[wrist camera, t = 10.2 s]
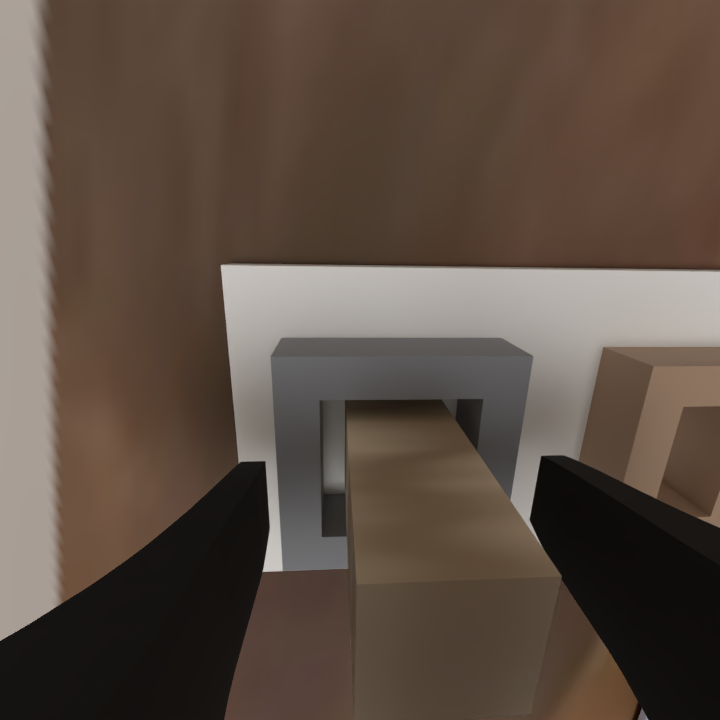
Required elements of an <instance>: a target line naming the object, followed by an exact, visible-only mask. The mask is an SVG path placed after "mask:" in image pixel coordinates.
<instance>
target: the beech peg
mask: <svg viewBox="0 0 720 720" xmlns="http://www.w3.org/2000/svg"><path fill="white" fill-rule="evenodd" d="M345 500H346V527H347V553H348V580H349V606H350V633H351V659H352V685H353V712H354V720H462V719H477V718H492V717H508V716H523V715H531V711H532V707H533V703H534V698H535V694H536V689H537V685H538V680H539V676H540V671H541V667H542V663H543V658H544V654H545V649H546V645H547V640H548V636H549V632H550V627H551V623H552V618H553V614H554V609H555V605H556V600H557V596H558V592H559V587H560V583H561V578H562V576H561V574H560V573H559V571H558V570H557V568H556V567H555V565H554V564H553V562H552V561H551V560H550V558H549V557H548V555H547V554H546V552H545V551H544V549H543V548H542V546H541V545H540V543H539V542H538V540H537V539H536V537H535V536H534V535H533V533H532V532H531V530H530V529H529V527H528V526H527V524H526V523H525V521H524V520H523V518H522V517H521V515H520V514H519V512H518V511H517V510H516V508H515V507H514V505H513V504H512V502H511V501H510V499H509V498H508V496H507V495H506V493H505V492H504V490H503V489H502V488H501V486H500V485H499V483H498V482H497V480H496V479H495V477H494V476H493V474H492V473H491V471H490V470H489V468H488V467H487V465H486V464H485V463H484V461H483V460H482V458H481V457H480V455H479V454H478V452H477V451H476V449H475V448H474V446H473V445H472V443H471V442H470V441H469V439H468V438H467V436H466V435H465V433H464V432H463V430H462V429H461V427H460V426H459V424H458V423H457V421H456V420H455V418H454V417H453V416H452V414H451V413H450V411H449V410H448V408H447V407H446V405H445V404H444V402H443V401H442V399H417V400H345Z"/></svg>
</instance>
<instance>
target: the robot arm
mask: <svg viewBox="0 0 720 720" xmlns="http://www.w3.org/2000/svg"><path fill="white" fill-rule="evenodd" d="M530 522H531V524H532V527H533V529H534V531H535V533H536V535H537V537H538V539H539V541H540V543H541V545H542V547H543V549H544V551H545V552H546V554H547V555H548V557H549V558H550V560H551V561H552V562H553V564H554V565H555V567H556V568H557V570H558V571H559V573H560V574H561V576H562V578H561V579H562V580H563V582H564V584H565V585H566V587H567V588H568V590H569V591H570V593H571V594H572V596H573V597H574V599H575V600H576V602H577V603H578V605H579V606H580V608H581V609H582V611H583V612H584V614H585V615H586V617H587V618H588V620H589V621H590V623H591V624H592V626H593V628H594V629H595V631H596V632H597V634H598V635H599V637H600V638H601V640H602V641H603V643H604V644H605V646H606V647H607V649H608V650H609V652H610V653H611V655H612V657H613V658H614V660H615V662H616V663H617V665H618V666H619V668H620V670H621V671H622V673H623V675H624V676H625V678H626V680H627V682H628V684H629V686H630V687H631V689H632V691H633V693H634V695H635V696H636V698H637V700H638V702H639V704H640V706H641V707H642V709H641V712H640V715H639V718H638V720H720V528H719V527H717V526H714V525H712V524H710V523H708V522H705V521H703V520H701V519H699V518H697V517H694V516H692V515H690V514H688V513H685V512H683V511H681V510H679V509H677V508H675V507H673V506H670V505H668V504H666V503H664V502H662V501H660V500H658V499H656V498H654V497H652V496H650V495H648V494H645V493H643V492H641V491H639V490H637V489H635V488H633V487H631V486H629V485H627V484H625V483H623V482H621V481H619V480H617V479H615V478H613V477H611V476H609V475H607V474H605V473H603V472H601V471H599V470H597V469H594V468H592V467H590V466H588V465H586V464H584V463H581V462H579V461H577V460H575V459H572V458H570V457H567V456H564V455H548V456H541V459H540V464H539V470H538V476H537V481H536V487H535V492H534V498H533V503H532V509H531V514H530ZM269 531H270V521H269V507H268V492H267V477H266V462H265V461H247V462H240V463H239V464H238V465H237V466H236V467H235V468H234V469H232V470H231V471H230V472H229V473H228V474H227V475H226V476H225V477H224V478H223V479H222V480H221V481H220V482H219V483H218V484H217V485H216V486H215V487H213V488H212V489H211V490H210V491H209V492H208V493H207V494H206V495H205V496H204V497H203V498H202V499H201V500H199V501H198V502H197V503H196V504H195V505H194V506H193V507H192V508H191V509H190V510H188V511H187V512H186V513H185V514H184V515H183V516H181V517H180V518H179V519H178V520H177V521H175V522H174V523H173V524H172V525H171V526H169V527H168V528H167V529H166V530H165V531H163V532H162V533H161V534H160V535H159V536H157V537H156V538H155V539H154V540H153V541H151V542H150V543H149V544H148V545H146V546H145V547H144V548H142V549H141V550H140V551H138V552H137V553H136V554H134V555H133V556H132V557H130V558H129V559H128V560H126V561H125V562H124V563H122V564H121V565H119V566H118V567H116V568H115V569H114V570H112V571H111V572H109V573H108V574H107V575H105V576H104V577H102V578H101V579H99V580H98V581H96V582H95V583H94V584H92V585H91V586H89V587H88V588H86V589H84V590H83V591H81V592H80V593H78V594H76V595H75V596H73V597H72V598H70V599H68V600H67V601H65V602H64V603H62V604H61V605H59V606H57V607H56V608H54V609H53V610H51V611H50V612H48V613H46V614H45V615H43V616H41V617H40V618H38V619H37V620H35V621H34V622H32V623H30V624H29V625H27V626H25V627H24V628H22V629H20V630H19V631H17V632H15V633H13V634H12V635H10V636H8V637H6V638H5V639H3V640H1V641H0V720H224V717H225V712H226V707H227V702H228V697H229V693H230V689H231V684H232V680H233V676H234V672H235V668H236V665H237V661H238V658H239V654H240V651H241V647H242V643H243V640H244V636H245V633H246V629H247V626H248V622H249V619H250V615H251V612H252V608H253V604H254V601H255V597H256V594H257V590H258V586H259V583H260V579H261V575H262V572H263V568H264V562H265V556H266V550H267V544H268V537H269Z"/></svg>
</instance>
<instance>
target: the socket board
mask: <svg viewBox="0 0 720 720" xmlns="http://www.w3.org/2000/svg"><path fill="white" fill-rule="evenodd" d="M221 273H222V284H223V295H224V306H225V317H226V328H227V339H228V350H229V361H230V372H231V383H232V394H233V405H234V416H235V426H236V437H237V448H238V459H239V463H240V462H247V461H265V462H266V477H267V492H268V507H269V521H270V531H269V537H268V544H267V550H266V556H265V562H264V568H263V572H269V571H295V570H321V569H347V568H348V553H347V527H346V500H345V400H417V399H442V401H443V402H444V404H445V405H446V407H447V408H448V410H449V411H450V413H451V414H452V416H453V417H454V418H455V420H456V421H457V423H458V424H459V426H460V427H461V429H462V430H463V432H464V433H465V435H466V436H467V438H468V439H469V441H470V442H471V443H472V445H473V446H474V448H475V449H476V451H477V452H478V454H479V455H480V457H481V458H482V460H483V461H484V463H485V464H486V465H487V467H488V468H489V470H490V471H491V473H492V474H493V476H494V477H495V479H496V480H497V482H498V483H499V485H500V486H501V488H502V489H503V490H504V492H505V493H506V495H507V496H508V498H509V499H510V501H511V502H512V504H513V505H514V507H515V508H516V510H517V511H518V512H519V514H520V515H521V517H522V518H523V520H524V521H525V523H526V524H527V526H528V527H529V529H530V530H531V532H532V533H533V535H534V536H535V537H536V539H537V540H538V542H539V543H540V541H539V539H538V537H537V535H536V533H535V531H534V529H533V527H532V524H531V522H530V514H531V509H532V503H533V498H534V492H535V487H536V481H537V476H538V470H539V464H540V459H541V456H548V455H564V456H567V457H570V458H572V459H575V460H577V461H579V462H581V463H584V464H586V465H588V466H590V467H592V468H594V469H597V470H599V471H601V472H603V473H605V474H607V475H609V476H611V477H613V478H615V479H617V480H619V481H621V482H623V483H625V484H627V485H629V486H631V487H633V488H635V489H637V490H639V491H641V492H643V493H645V494H648V495H650V496H652V497H654V498H656V499H658V500H660V501H662V502H664V503H666V504H668V505H670V506H673V507H675V508H677V509H679V510H681V511H683V512H685V513H688V514H690V515H692V516H694V517H697V518H699V519H701V520H703V521H705V522H708V523H710V524H712V525H714V526H717V527H719V528H720V270H691V269H615V268H540V267H464V266H389V265H313V264H237V263H230V264H224V265H221ZM540 545H541V543H540ZM541 546H542V545H541ZM542 548H543V547H542Z"/></svg>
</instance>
